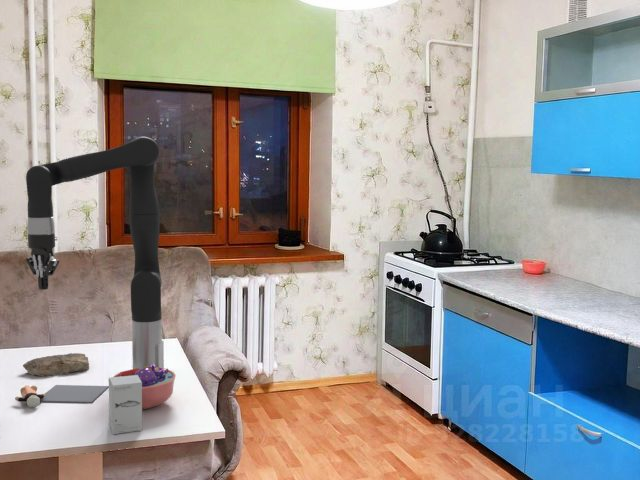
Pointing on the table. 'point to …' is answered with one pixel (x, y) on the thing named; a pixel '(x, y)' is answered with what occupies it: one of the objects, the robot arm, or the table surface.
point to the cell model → (153, 384)
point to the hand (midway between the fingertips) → (43, 289)
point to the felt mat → (73, 393)
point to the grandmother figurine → (30, 396)
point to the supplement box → (125, 404)
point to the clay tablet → (57, 364)
